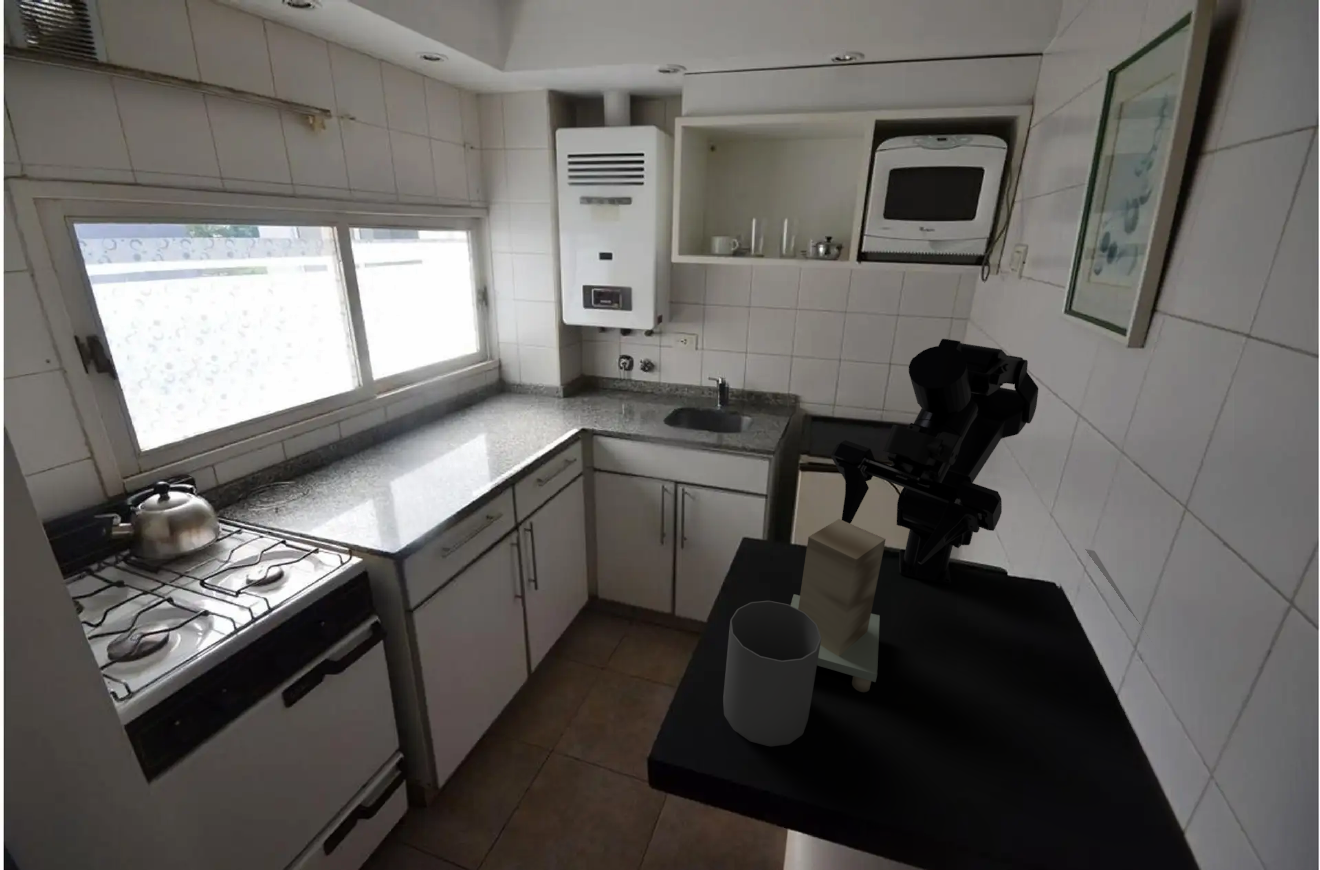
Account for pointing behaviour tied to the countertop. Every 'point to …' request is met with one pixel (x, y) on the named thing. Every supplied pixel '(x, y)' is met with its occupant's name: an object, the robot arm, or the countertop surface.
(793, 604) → the peg shelf
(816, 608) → the beech block
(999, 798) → the countertop surface
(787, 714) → the cup
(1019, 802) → the countertop surface
